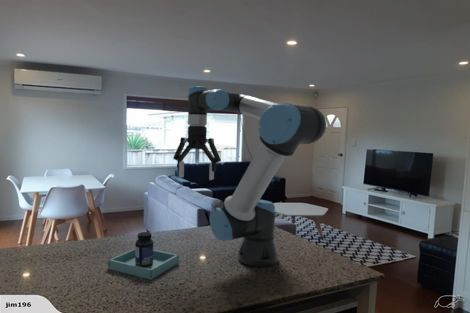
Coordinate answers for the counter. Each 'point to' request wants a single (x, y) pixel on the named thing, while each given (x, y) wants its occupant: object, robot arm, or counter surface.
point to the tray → (127, 265)
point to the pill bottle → (144, 250)
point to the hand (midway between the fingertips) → (196, 178)
